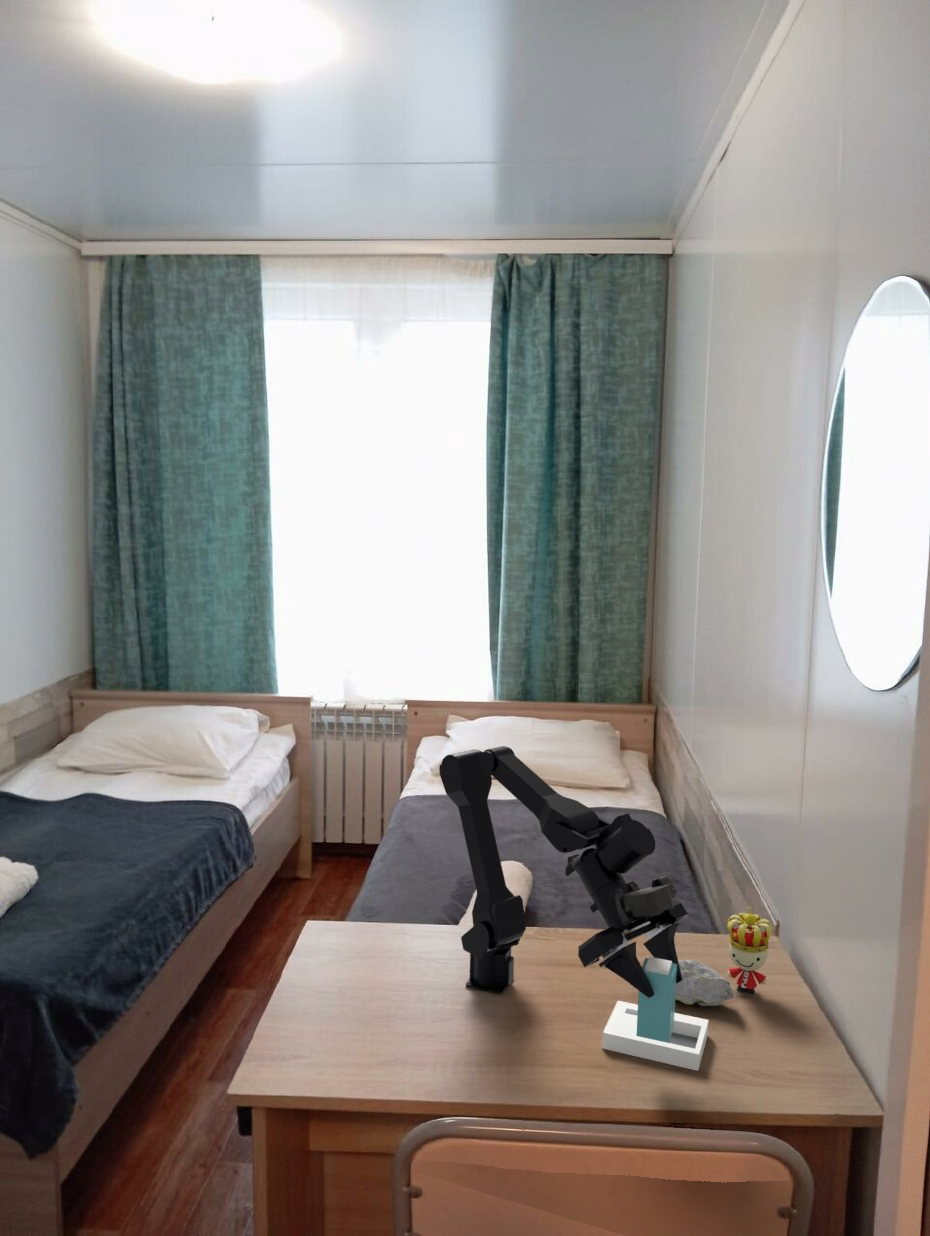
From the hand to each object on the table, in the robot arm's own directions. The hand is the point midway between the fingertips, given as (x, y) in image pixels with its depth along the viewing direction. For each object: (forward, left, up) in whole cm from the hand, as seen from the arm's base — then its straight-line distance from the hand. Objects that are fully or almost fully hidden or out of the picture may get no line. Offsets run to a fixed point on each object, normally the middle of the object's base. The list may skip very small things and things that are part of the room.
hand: (666, 989), depth 132 cm
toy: (+8, +31, -14) cm, 35 cm away
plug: (-1, +1, -7) cm, 7 cm away
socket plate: (-3, +9, -13) cm, 16 cm away
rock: (-1, +24, -14) cm, 28 cm away
